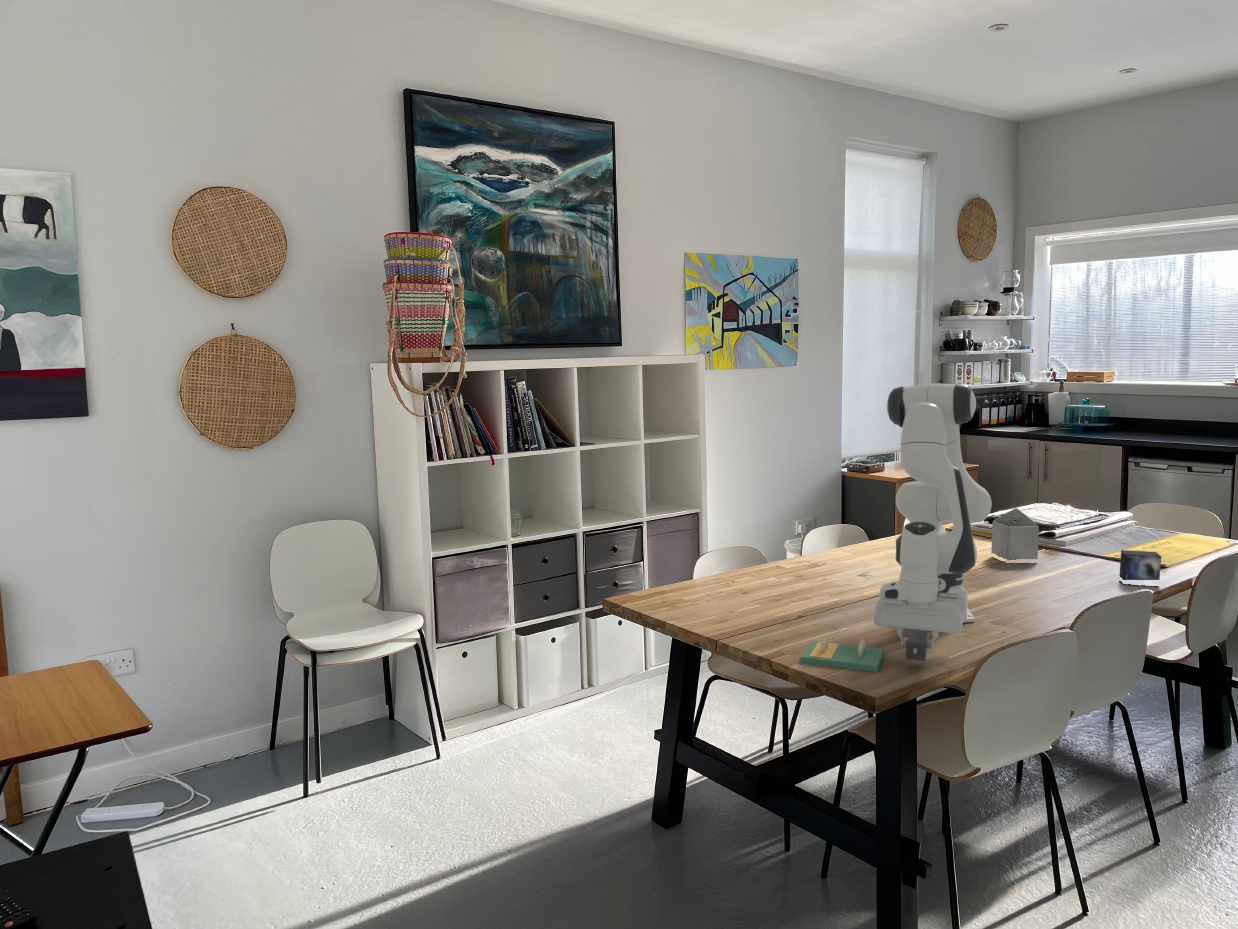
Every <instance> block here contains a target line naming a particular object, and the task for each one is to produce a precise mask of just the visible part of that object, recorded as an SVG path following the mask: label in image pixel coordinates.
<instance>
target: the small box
mask: <svg viewBox="0 0 1238 929" xmlns="http://www.w3.org/2000/svg"><path fill="white" fill-rule="evenodd" d="M1161 564H1162V555H1161V554H1159V553H1158V552H1157V551H1147V550H1129V549H1128V550H1127V549H1126V550H1125V549H1121V551H1120V564H1119V576H1120V577H1121V578H1122V579H1123V580H1160V577H1161V567H1162V566H1161Z"/></svg>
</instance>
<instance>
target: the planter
mask: <svg viewBox="0 0 1238 929" xmlns="http://www.w3.org/2000/svg"><path fill="white" fill-rule="evenodd" d="M1015 519H1016V521H1015ZM991 530H992V531H991V553H994V554H996V555H997V556H999V557H1002V558H1004V559H1007V560H1013V559H1014V560H1016V559H1017V560H1018V559H1038V558H1039V556H1038V554H1039V533H1040V532H1039V531H1040V526H1039V525H1038V523H1036V522H1035V521H1034V520H1033V519H1032V518H1030V517H1029V516H1028V515H1026V514H1025V513H1024V512H1023V511H1021V510H1020V509H1019V508H1017V507H1015V508H1012V509H1011V510H1009V511H1008V512H1005V513H1004V514H1001V515H1000V516H999V517H997V518H996V519H994V520H993V521H992V526H991ZM1038 560H1039V559H1038Z"/></svg>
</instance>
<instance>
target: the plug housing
mask: <svg viewBox="0 0 1238 929" xmlns="http://www.w3.org/2000/svg"><path fill="white" fill-rule="evenodd" d="M907 633H908V634H907V637H906V638H907V640H906V646H905V660H910V661H911V660H912V661H921V662H925V661H927V660H926V659H927V655H928V650H929V649H927V640H929V631H924V630H914V629H908V632H907Z"/></svg>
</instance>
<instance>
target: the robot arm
mask: <svg viewBox="0 0 1238 929" xmlns="http://www.w3.org/2000/svg"><path fill="white" fill-rule="evenodd" d="M976 408H977V399H976V396H975V393H974V391H973V389H972V388H971V387H970V385H968V384H964V383H957V382H956V383H955V384H954V383H953V384H952V383H939V382H938V383H936V382H935V383H929V384H918V385H911V386H906V385H905V386H904V385H902V386H899V387H896V388H893V389H892V390H891V391H890V393H889V394H888V397H887V401H886V412H887V415H888V418H889V421H891V422H892V423H893V425H896V426H898V427H900V428H901V429H902V430H901V435H900V436H901V437H900V463H901V467H902V469H903V470H904V472H905V473H906V474H907V475H908V476H910V477H911V478H912V479H914V480H915V481H909V482H904V483H903V484H902V485H901V486H899V488H898V489H897V492H896V495H895V505H896V508H897V510H898V511H899V513H900V514H901V515H902V516H903V517H905V518H906V519H907V520H908V521H909V523H907V524H904V526H903V529H902V533H901V534H900V535H899V536H897V538H896V539H895V561H896V562H897V563H898V565H899V566H901V567H900V568H901V570H900V573H899V577H898V578H899V580H896V581H891V582H888V583H886V582H885V583H884V584H883V585H881V586H880V589H879V597H878V599H877V601H876V604H875V607H874V608H875V609H874V615H873V623H874V625H876V626H877V627H881V628H882V627H883V628H894V629H896V633H897V635H898V637H899V639H900V640H901V641H900V642H901V643H900V645H901V646H902V647H906V640H907V637H905V635H904V633H903V632H904V629H905V630H909V629H913V630H924V631H928V632H931V635H932V637H931V638H930V639H928V640H927V649H928V650H933V649H934V642H935V641H936V640H937V638H938V637H939V633H947V634H958V635H959V634H960V633H962V631H963V627H964V626H963V624H964V623H972V622H973V623H974V622H975V621H976V620H975V616H974V615H973V614H972V612H971V611H970V609H969V608H968V607H969V603H968V594H969V593H968V591H967V590H966V589H965V587H964V586H963V579H964V574H966V573H968V572H969V571H970V570H972V569H973V568H974V567H975V566H976V562H977V559H978V552H977V546H976V541H975V540H974V536H973V534H972V528H971V527H972V526H971V524H975V523H982V522H984V521H985V520H986V519H987V518H988V517H989V515H990V512H991V510H992V498H991V495H990V494H989V492H988V490H986V488H985V487H982V486H981V485H979V484H978V482H977V481H975V480H974V479H973V477H972V476H971V475H970V474H969V473H968V471H967V469H966V467H965V464H964V461H963V455H962V450H961V439H960V438H961V435H960V427H959V425H962V424H965V423H968V422H970V421H971V420H972V419H973V417H974V415H975V411H976ZM942 522H943V523H944V522H946V523H952V527H953V529H952V531H951V530H950V531H947V530H946V529H945V528H944V526H943V523H942Z"/></svg>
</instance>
